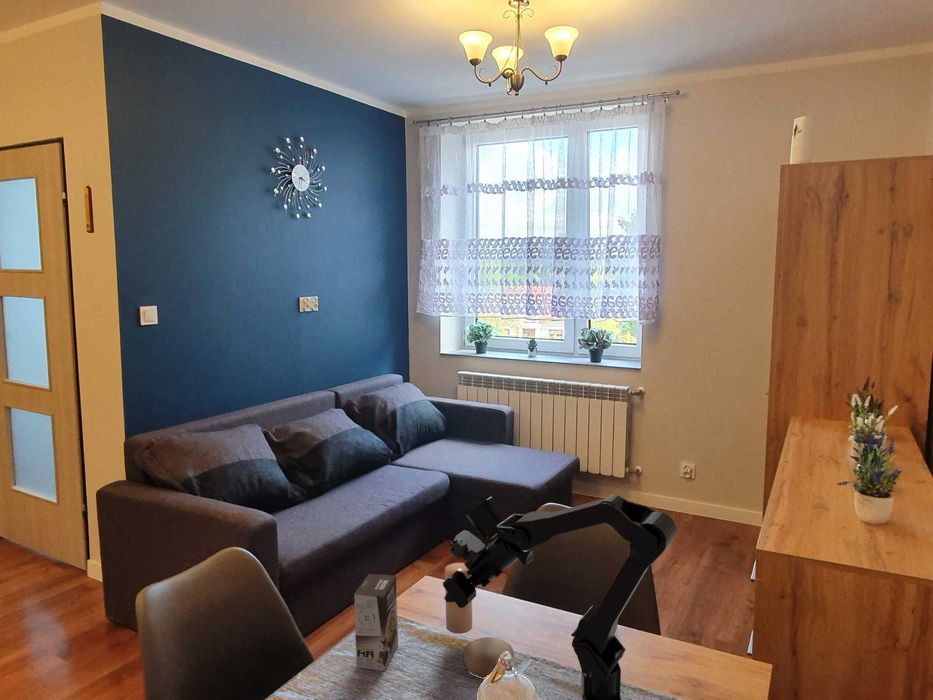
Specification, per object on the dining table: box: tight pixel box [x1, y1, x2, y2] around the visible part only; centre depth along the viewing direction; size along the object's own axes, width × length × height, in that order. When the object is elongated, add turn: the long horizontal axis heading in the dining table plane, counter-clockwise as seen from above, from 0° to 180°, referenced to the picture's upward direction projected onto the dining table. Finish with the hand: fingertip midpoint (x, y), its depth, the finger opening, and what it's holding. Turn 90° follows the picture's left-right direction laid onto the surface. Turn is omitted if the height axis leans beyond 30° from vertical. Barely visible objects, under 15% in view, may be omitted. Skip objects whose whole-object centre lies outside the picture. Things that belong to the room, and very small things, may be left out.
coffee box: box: [353, 573, 399, 672], centre depth 136 cm, size 9×6×16 cm
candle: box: [444, 562, 473, 635], centre depth 139 cm, size 6×6×13 cm
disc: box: [463, 636, 514, 678], centre depth 134 cm, size 10×10×3 cm
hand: (453, 593), depth 140 cm, fingers closed on candle, 6 cm apart
